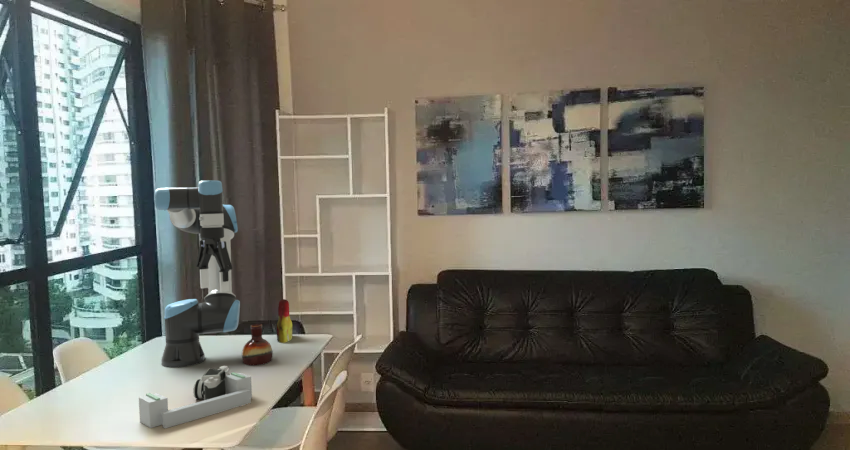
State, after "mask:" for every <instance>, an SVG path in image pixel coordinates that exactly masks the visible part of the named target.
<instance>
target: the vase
mask: <svg viewBox="0 0 850 450" xmlns="http://www.w3.org/2000/svg"><path fill="white" fill-rule="evenodd" d="M250 335H251V338H250V340H247V342H246V343H245V344H244V346H243V347H242V351H241V360H242V362H243V364H244V365H246V366H261V365H265V364H268V363H271V362H272V359H273V355H274V353H273V352H274V350H273V347H272V345H271V344H270V342H269V341H268V340H267V339H265V338H264V337H263V324H262V323H253V324H251V325H250Z"/></svg>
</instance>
